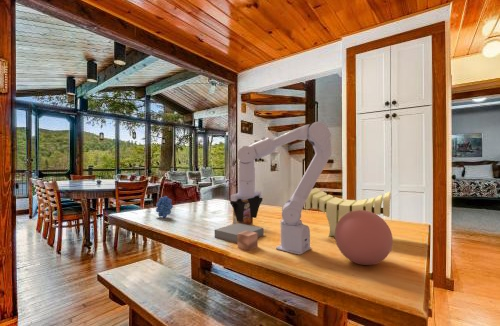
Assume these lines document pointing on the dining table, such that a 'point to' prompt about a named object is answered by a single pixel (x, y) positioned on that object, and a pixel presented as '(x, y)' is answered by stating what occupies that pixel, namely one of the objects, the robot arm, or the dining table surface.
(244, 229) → the charcoal plinth
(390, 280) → the dining table surface
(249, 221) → the candy box
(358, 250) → the matte pink egg
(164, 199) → the grapes
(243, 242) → the terracotta block
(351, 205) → the slatted curved stool
